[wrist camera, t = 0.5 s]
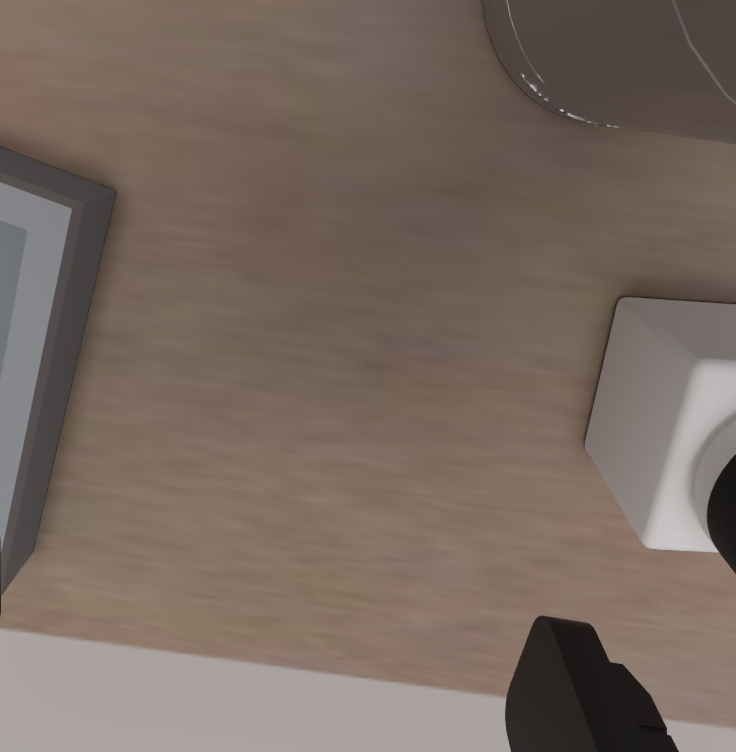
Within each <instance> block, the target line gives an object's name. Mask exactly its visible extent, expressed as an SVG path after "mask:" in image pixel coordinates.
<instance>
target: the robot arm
mask: <svg viewBox="0 0 736 752" xmlns="http://www.w3.org/2000/svg"><path fill="white" fill-rule="evenodd" d="M482 1H483V7H484V14H485V20H486V26H487V30H488V32H489V35H490V38H491V40H492V43H493V46H494V49H495V51H496V54H497V56H498V58H499V60H500V61H501V63H502V64H503V66H504V67H505V69H506V71H507V72H508V74H509V75H510V77H511V78H512V80H513V81H514V82H515V83H516V84H517V85H518V86H519V87H520V88H521V89H522V90H523V91H524V92H525V93H526V94H527V95H528V96H529V97H530V98H531V99H532V100H534V101H536V102H537V103H539V104H541V105H542V106H544V107H546V108H547V109H549V110H551V111H552V112H554V113H556V114H560V115H563V116H566V117H569V118H573V119H576V120H579V121H582V122H588V123H590V124H595V125H601V126H608V127H622V128H629V129H636V130H643V131H649V132H656V133H663V134H670V135H676V136H683V137H690V138H697V139H704V140H710V141H717V142H724V143H731V144H736V0H482ZM0 614H1V539H0ZM505 710H506V711H505V721H506V731H507V736H508V740H509V744H510V749H511V752H679V751H678V749H677V747H676V745H675V743H674V742H673V740H672V738H671V736H670V735H667V728H666V726H665V724H664V722H663V720H662V718H661V716H660V714H659V712H658V710H657V708H656V706H655V704H654V702H653V700H652V698H651V696H650V694H649V693H648V692H647V691H646V690H645V689H644V687H643V686H642V685H641V684H640V683H639V682H638V681H637V680H636V679H635V677H634V676H633V675H632V674H631V673H630V672H629V671H628V670H627V669H626V667H625V666H624V665H623V664H618V663H611V662H610V661H609V659H608V657H607V655H606V653H605V651H604V648H603V646H602V644H601V642H600V640H599V637H598V635H597V633H596V631H595V629H594V628H593V627H592V625H590V624H589V623H586V622H579V621H573V620H567V619H560V618H554V617H548V616H539V617H537V618H536V620H535V621H534V623H533V625H532V627H531V630H530V633H529V635H528V638H527V641H526V643H525V646H524V649H523V652H522V654H521V657H520V660H519V662H518V665H517V668H516V670H515V673H514V676H513V678H512V681H511V684H510V686H509V690H508V694H507V699H506V709H505Z"/></svg>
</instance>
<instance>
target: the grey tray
mask: <svg viewBox="0 0 736 752" xmlns="http://www.w3.org/2000/svg"><path fill="white" fill-rule="evenodd" d="M115 193H116V191H115V190H113V189H110V188H107V187H105V186H102V185H99V184H97V183H94V182H92V181H89V180H86V179H84V178H81V177H78V176H76V175H73V174H71V173H68V172H65V171H63V170H60V169H57V168H55V167H52V166H49V165H47V164H44V163H42V162H39V161H36V160H34V159H31V158H28V157H26V156H23V155H21V154H18V153H15V152H13V151H10V150H7V149H5V148H2V147H0V539H1V595H2V594H3V593H4V591H5V590H6V589H7V587H8V586H9V584H10V583H11V582H12V580H13V579H14V577H15V576H16V575H17V573H18V572H19V570H20V569H21V568H22V566H23V565H24V563H25V562H26V561H27V559H28V558H29V557H30V555H31V554H32V552H33V549H34V545H35V541H36V536H37V532H38V528H39V523H40V519H41V515H42V510H43V506H44V502H45V497H46V493H47V489H48V484H49V480H50V476H51V471H52V467H53V462H54V458H55V454H56V449H57V445H58V441H59V436H60V432H61V428H62V423H63V419H64V415H65V410H66V406H67V402H68V397H69V393H70V389H71V384H72V380H73V376H74V371H75V367H76V363H77V358H78V354H79V349H80V345H81V341H82V336H83V332H84V328H85V323H86V319H87V315H88V310H89V306H90V302H91V297H92V293H93V289H94V284H95V280H96V276H97V271H98V267H99V263H100V258H101V254H102V250H103V245H104V241H105V236H106V232H107V228H108V223H109V219H110V215H111V210H112V206H113V202H114V197H115Z"/></svg>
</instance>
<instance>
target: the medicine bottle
mask: <svg viewBox="0 0 736 752" xmlns="http://www.w3.org/2000/svg"><path fill="white" fill-rule="evenodd" d="M585 450H586V452H587V453H588V455H589V457H590V458H591V460H592V461H593V463H594V465H595V466H596V468H597V470H598V471H599V473H600V475H601V476H602V478H603V480H604V481H605V483H606V485H607V486H608V488H609V489H610V491H611V493H612V494H613V496H614V498H615V499H616V501H617V503H618V504H619V506H620V508H621V509H622V511H623V512H624V514H625V516H626V517H627V519H628V521H629V522H630V524H631V526H632V527H633V529H634V531H635V532H636V534H637V535H638V537H639V539H640V540H641V542H642V543H643V544H644V545H645V546H646V547H647V548H650V549H664V550H682V551H700V552H718V553H720V554H721V555H722V557H723V558H724V559H725V561H726V562H727V563H728V564H729V566H730V567H731V568H732V570H733V571H734V572H735V574H736V304H722V303H707V302H693V301H678V300H663V299H648V298H633V297H624V298H622V299H620V300H619V301H618V303H617V306H616V311H615V315H614V319H613V323H612V328H611V332H610V336H609V341H608V345H607V349H606V353H605V358H604V362H603V366H602V370H601V375H600V379H599V383H598V388H597V392H596V396H595V400H594V405H593V409H592V413H591V418H590V422H589V426H588V430H587V435H586V439H585Z"/></svg>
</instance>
